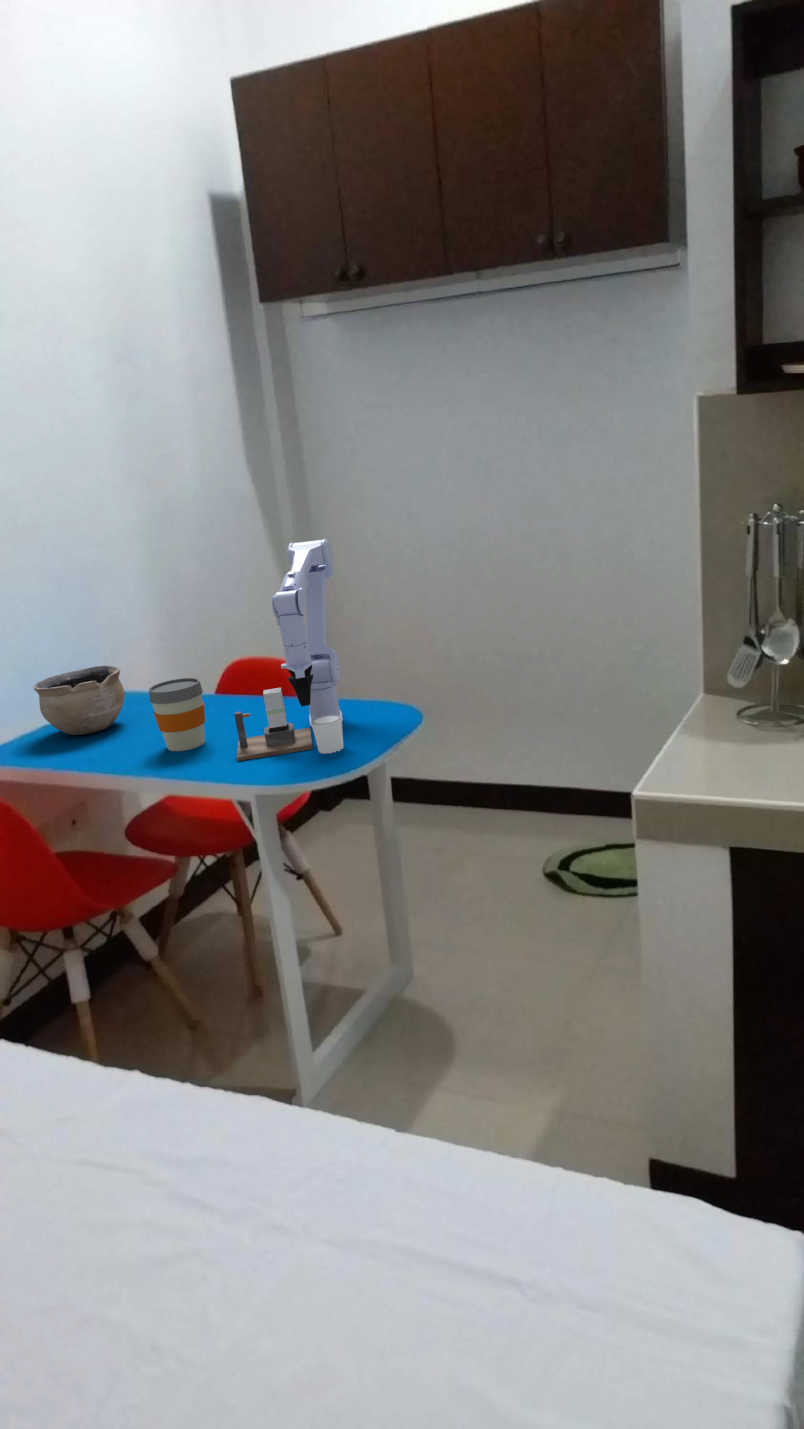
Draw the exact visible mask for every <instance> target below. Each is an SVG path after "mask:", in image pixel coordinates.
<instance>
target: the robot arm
mask: <svg viewBox="0 0 804 1429" xmlns="http://www.w3.org/2000/svg"><path fill="white" fill-rule="evenodd" d="M286 553H287V559H288V560H287V561H288V564H289V566H290V567H291V568H290V571H287V573H285V575H284V577H283V580H282V583H281V585H280V588H279V591H277V592H276V593H275V594H273V595H272V598H271V606H272V608H271V609H272V612H273V615H274V617H275V620H276V624H277V626H279V630H280V636H281V637H280V638H281V642H282V648H283V655H284V659H285V663H281V665H280V667H281V669H283V670H284V669H287V671H288V673H289V674H290V676H287V680H288V682H289V684H290V685H291V687H292V688H293V690H294V692H295V694H296V697H297V701H298V703H299V705H300V707H306V706H308V710H309V715H308V718H309V725H310V726H309V728H312V724H311V721H312V720H314V719H316V718H319V717H322V716H328V715H338V716H341V718H342V723H343V722H344V718H343V714H342V710H340V705H339V697H338V691H337V685H336V684H337V683H339V681H340V679H341V665H340V659H339V658H340V657H339V654H338V652H337V651H336V650H335V649H334V648H332V647H330V646H329V645H327V644H328V642H327V639H328V637H327V635H328V634H327V598H326V597H327V593H326V592H327V580H328V579H329V578H330V577H332V575H333V570H334V568H333V567H334V566H333V565H334V563H333V561H334V558H333V551H332V545H331V543H330V541H329V540H328V539H327V538H323V539H318V540H309V541H301V542H300V541H299V542H290V543H289V545H288V546H287V552H286ZM305 613H306V621H305Z"/></svg>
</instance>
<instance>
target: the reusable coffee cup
mask: <svg viewBox="0 0 804 1429" xmlns="http://www.w3.org/2000/svg"><path fill="white" fill-rule="evenodd" d="M203 693H204V691H203V687H202V684H201V680H200V679H199V678H196V677H183V678H176V679H175V678H174V679H171V680H166V681H161V682H159V683H157V684H154V685H152V686H150V687H149V688H148V697H149V702H150V703H151V704H152V707H153V710H154V711H153V716H154V719H155V720H156V725H157V727H158V730H159V731H160V732H161V733H162V736H163V739H164V742H165V745H166V747H167V750H168V751H171V752H184V751H188V750H192V749H196V748H198V747H201V746H202V745H204V744H205V742H206V737H205V725H204V724H205V722H206V714H205V712H206V711H205V702H204V701H203Z"/></svg>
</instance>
